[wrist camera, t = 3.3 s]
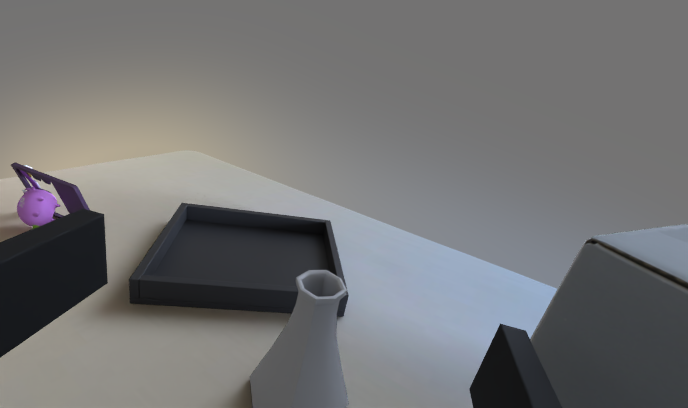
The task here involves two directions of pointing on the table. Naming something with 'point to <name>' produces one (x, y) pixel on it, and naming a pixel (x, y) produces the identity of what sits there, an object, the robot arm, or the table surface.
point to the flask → (305, 351)
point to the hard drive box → (620, 323)
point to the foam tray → (234, 260)
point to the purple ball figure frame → (45, 197)
